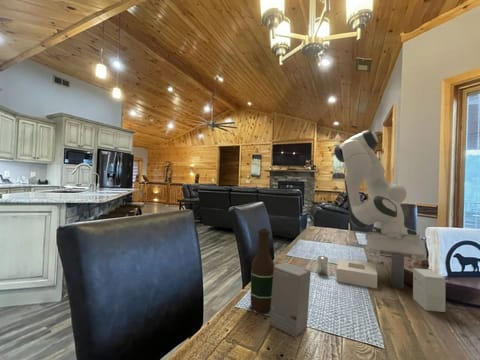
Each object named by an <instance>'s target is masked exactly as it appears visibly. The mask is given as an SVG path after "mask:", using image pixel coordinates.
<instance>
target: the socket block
mask: <svg viewBox="0 0 480 360" xmlns="http://www.w3.org/2000/svg"><path fill="white" fill-rule="evenodd" d="M336 282H339V283H344V284H350V285H355V286H361V287H367V288H371V289H378V271H377V266H376V263H372V262H367V261H366V262H365V261H359V260H351V259H345V258H338V262H337V267H336Z"/></svg>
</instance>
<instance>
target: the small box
mask: <svg viewBox="0 0 480 360" xmlns="http://www.w3.org/2000/svg"><path fill="white" fill-rule="evenodd" d="M412 270H413V271H412V273H413V274H412V276H413V277H412V299H413V300H414V301H415V302H416V303H417V304H418V305H419V306H420V307H421V308H423V310H424V311H426V312H427V311H429V312H438V313H440V312H441V313H446V277H444V276H442V275H441V274H439V273H438V272H436V271H434V270H433V269H428V268H427V269H425V268H414V267H413V268H412Z"/></svg>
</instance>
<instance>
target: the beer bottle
mask: <svg viewBox="0 0 480 360" xmlns="http://www.w3.org/2000/svg"><path fill="white" fill-rule="evenodd" d="M270 233H271V232H270V230H269V229H268V228H260V229H258V231H257V234H258V242H257V251H256V255H255V257H254V258H253V260H252V261H251V266H250V268H251V269H250V307H251V310H253V311H254V312H256V313H259V314H270V309H271V296H272V283H273V270H274V266H275V263H274V260H273V259H272V257H271V252H270Z"/></svg>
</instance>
